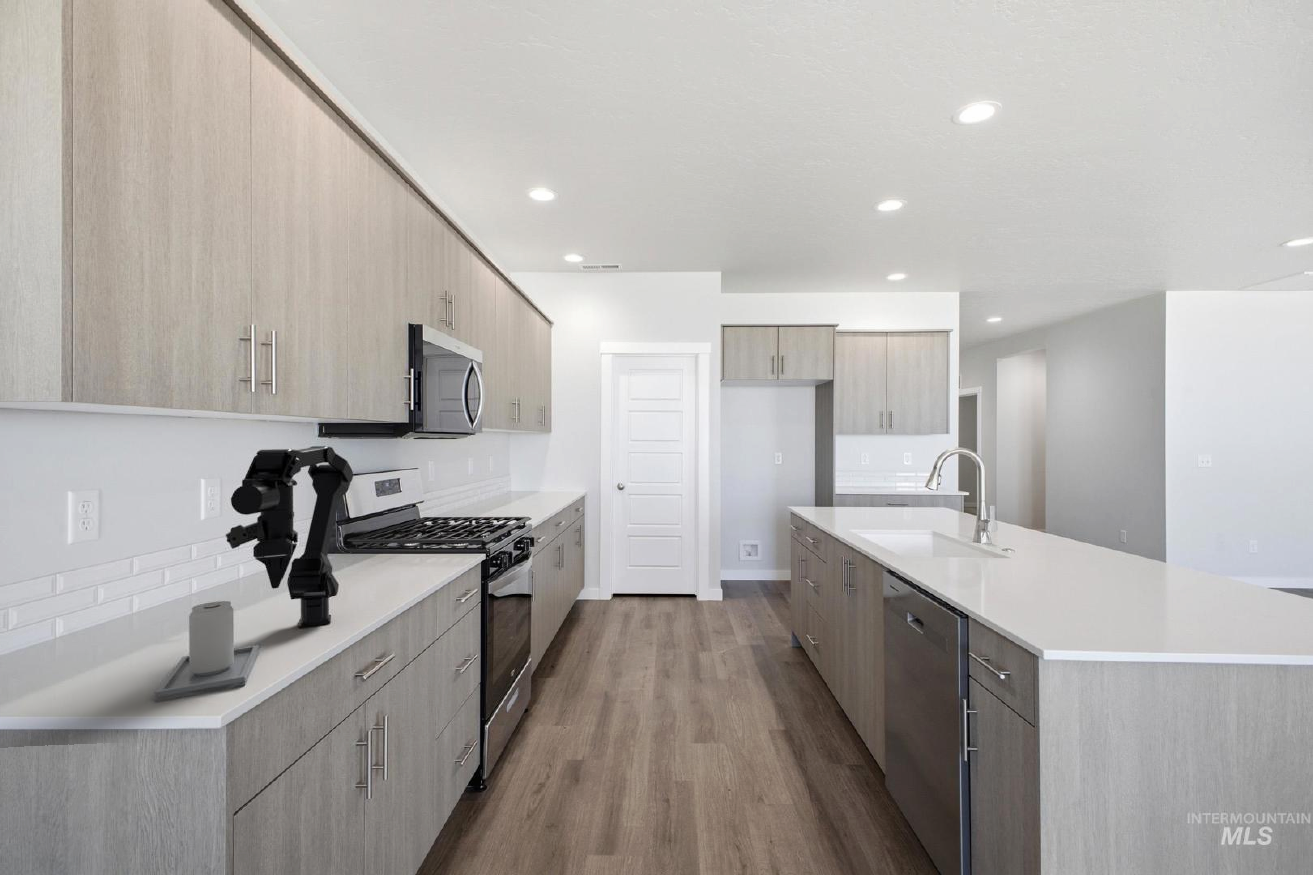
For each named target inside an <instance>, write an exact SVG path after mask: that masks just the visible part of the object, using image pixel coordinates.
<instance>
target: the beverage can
mask: <svg viewBox="0 0 1313 875" xmlns="http://www.w3.org/2000/svg"><path fill="white" fill-rule="evenodd" d="M231 604H232V602H231V601H227V600H218V601H210V602H205V603H200V604H198V605H197V604H196V605H194V606H193V607H191V613H189V615H188V633H189V634H188V637H189V638H188V639H189V640H188V642H189V643H188V644H189V645H188V649H189V652H188V656H189V670H190V672H191V673H193V674H195V675H197V676H207V675H212V674H217V673H220V672H222V671H225V670H227V669H228V668H229V666H231V665H232V664H233V663H234V649H235V647H234V646H235V643H234V641H235V640H234V638H235V636H234V633H235V631H234V630H235V629H234V626H235V624H234V621H235V620H234V616H235V615H234V607H233V606H231Z"/></svg>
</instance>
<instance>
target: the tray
mask: <svg viewBox="0 0 1313 875" xmlns="http://www.w3.org/2000/svg"><path fill="white" fill-rule="evenodd" d="M259 655H260V645H259V644H256V645H250V646H244V647H238V648H234V663H233V664H232V665H231V666H229V668H228V669H227V670H225V671H222V672H220V673H217V674H212V675H207V676H197V675H195V674H193V673H191V672H190V670H189V655H185V656H182V657H181V659H179V661H178V662H177V663H176V664H175V666H174V667H173V668H172V670H171V671H170V672H169V673H168V675H167V676H166V678H165V679H164V680H163V681H162V683H161V684H160V685H159V687H157V689H156V690H155V691H154V703H158V702H163V701H169V700H174V699H178V698H179V699H180V698H184V697H185V698H187V697H191V696H197V695H201V694H208V693H213V692H219V691H224V690H230V689H234V688H239V687H240V688H241V687H246V684H247V682H248V679H249V677H250V675H251V673H252V670H253V668H254V666H255V663H256V661H257V659H258V656H259Z"/></svg>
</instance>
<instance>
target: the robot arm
mask: <svg viewBox="0 0 1313 875" xmlns="http://www.w3.org/2000/svg"><path fill="white" fill-rule="evenodd" d="M322 463H323V464H322ZM324 463H327V464H324ZM318 464H319V465H318ZM305 467H306V468H307V467H308V470H307V474H308V475H309V478H311V480H312V482H311V483H312V487H313V490H314V492H315V494H316V499H315V503H314V508H313V512H312V516H311V522H310V526H309V530H308V534H307V539H306V544H305V548H304V552H303V554H302V555H301V556H300V557H296V558H294V559H293V560H292V558H293V554H294V552H295V550H296V548H297V544H298V542H299V533H298V531H296V530H295V529H294V517H295V512H294V486H297V485H298V481H296V479H294V478H293V477H294V476H295V475H297V474H298V473H300V472H301V471H302V468H305ZM353 472H354V471H353V469H352V467H351V465H350V463H349V462H348V460H347V459H345V458H343V457H342V456H340V455H339V454H338V453H336V452H335V450H334V448H333V447H332V446H328V445H321V446H318V445H317V446H316V445H314V446H310V447H306V448H300V449H293V448H288V449H286V448H284V449H282V448H281V449H280V448H279V449H260V450H258V451H256V455H255V456H254V457H253V459H252V460H251V463H250V465H249V468H248V470H247V472H246V474H245V477H244V478H243V479H242V480H241V486H239V487H237V488H236V489H235V490H234V492H233V493H232V495H231V497H230V503H231V504H230V505H231V507H232V508H233V509H234V511H235V512H236V513H238V514H241V515H246V516H249V515H253V514H258V513H259V514H260V515H259V516H258V517H257V519H256V522H253V523H250V524H248V525H245V526H243V525H242V524H239V525H236V526H234V527H231V528H230V531H228V532H227V533H225V538H226V542H227V543H228V544H229V545H230V548H231V549H232V550H234V549H236V548H239V547H241V546H242V545H243V544H247V543H249V542H252V541H255V540H256V541H257V543H256V544H255V545H254V546H253V549H252V550H253V558H254V559H255V560H256V561H259V562H260V563H262V564H263V565H264V566H265V569H266V572H267V575H268V580H269V582H270V586H271V588H272V589H279V588H280V585H281V583H282V580H283V579H284V577H285V575H286V573H287V569H288V567H289V565H290V562H291V567H290V571H289V573H288V577H287V583H286V584H287V588H288V592H289V597H290V600H300V619H299V621H298V622H297V623H298V624H297V628H298V629H301V628H307V627H315V626H321V625H322V626H323V625H329V624H331V623H332V615H331V614H330V603H329V602H330V598H331V597H336V596H337V595H338V592H339V586H340V584H339V581H337V579H336V578H335V576H334V575H333V566H332V565H333V564H331V561H330V559H329V558H328V554H329V549H330V544H331V539H332V535H333V529H334V525H335V521H336V515H337V510H338V506H339V502H340V499H341V498H342V497H343V496H344V495H345V494H346V493H348V491H349V488H350V486H351V482H352V481H353V478H354V473H353ZM291 560H292V561H291Z"/></svg>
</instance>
